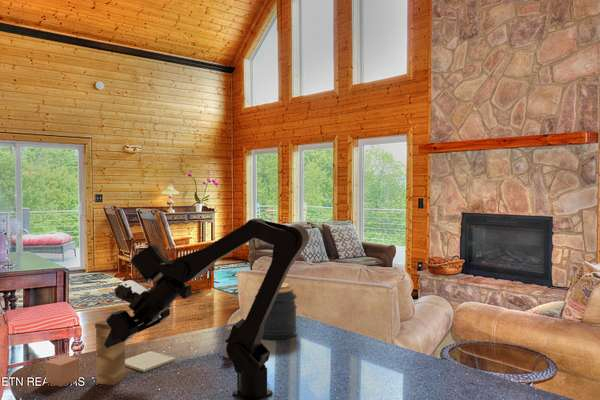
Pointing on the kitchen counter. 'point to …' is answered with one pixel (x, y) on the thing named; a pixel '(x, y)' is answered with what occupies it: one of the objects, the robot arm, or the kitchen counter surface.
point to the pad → (148, 361)
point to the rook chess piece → (228, 331)
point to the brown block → (108, 357)
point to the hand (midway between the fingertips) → (117, 340)
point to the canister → (281, 315)
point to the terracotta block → (62, 370)
